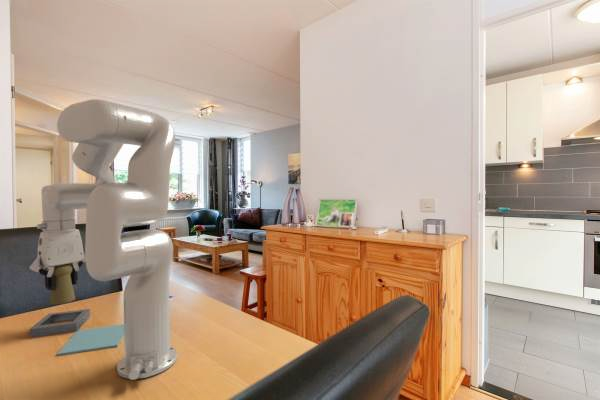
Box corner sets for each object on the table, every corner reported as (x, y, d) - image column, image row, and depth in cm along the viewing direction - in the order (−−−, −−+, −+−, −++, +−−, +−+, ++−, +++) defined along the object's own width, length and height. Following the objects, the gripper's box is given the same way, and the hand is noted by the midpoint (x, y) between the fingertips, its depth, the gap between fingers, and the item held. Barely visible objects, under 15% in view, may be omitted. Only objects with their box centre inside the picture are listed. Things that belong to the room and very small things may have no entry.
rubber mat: (117, 346, 77) (117, 344, 77) (57, 355, 73) (57, 353, 73) (128, 325, 89) (128, 323, 89) (77, 332, 85) (77, 330, 85)
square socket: (76, 331, 86) (76, 323, 86) (29, 337, 82) (29, 329, 82) (90, 316, 96) (89, 308, 96) (48, 321, 93) (48, 313, 92)
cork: (60, 305, 85) (59, 267, 85) (44, 304, 86) (42, 266, 86) (80, 297, 91) (78, 262, 91) (64, 296, 92) (62, 261, 92)
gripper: (29, 230, 79) (32, 297, 79) (97, 223, 94) (99, 280, 94) (16, 229, 82) (19, 294, 82) (83, 223, 97) (85, 278, 98)
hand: (62, 286), depth 88 cm, fingers closed on cork, 4 cm apart
